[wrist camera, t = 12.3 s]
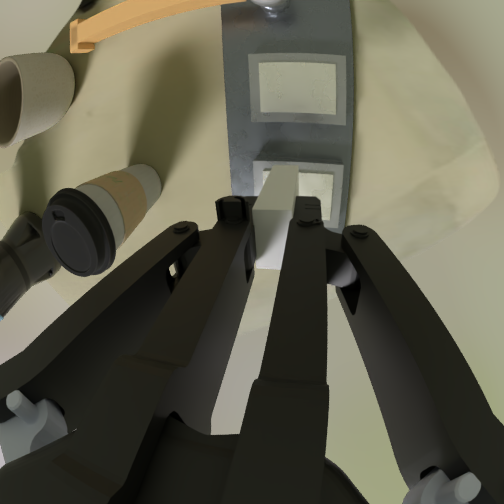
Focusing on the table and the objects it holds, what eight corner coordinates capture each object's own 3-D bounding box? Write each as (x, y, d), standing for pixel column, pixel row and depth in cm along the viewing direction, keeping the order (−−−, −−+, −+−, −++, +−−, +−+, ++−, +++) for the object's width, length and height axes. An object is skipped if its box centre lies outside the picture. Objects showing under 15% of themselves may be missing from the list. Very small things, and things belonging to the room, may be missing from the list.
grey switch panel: (237, 235, 36) (227, 256, 32) (223, -5, 19) (208, -19, 16) (341, 242, 33) (344, 264, 29) (347, -8, 17) (352, -23, 13)
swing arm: (290, -28, 14) (287, -41, 11) (293, 5, 16) (290, -5, 14) (87, 24, 18) (69, 22, 16) (87, 52, 20) (69, 53, 18)
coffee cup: (149, 137, 30) (61, 177, 18) (187, 199, 34) (121, 269, 22) (105, 172, 34) (27, 222, 22) (139, 226, 38) (75, 291, 26)
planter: (97, 67, 26) (34, 74, 17) (67, 140, 32) (12, 164, 23) (53, 41, 23) (-3, 46, 14) (29, 107, 30) (-21, 125, 21)
